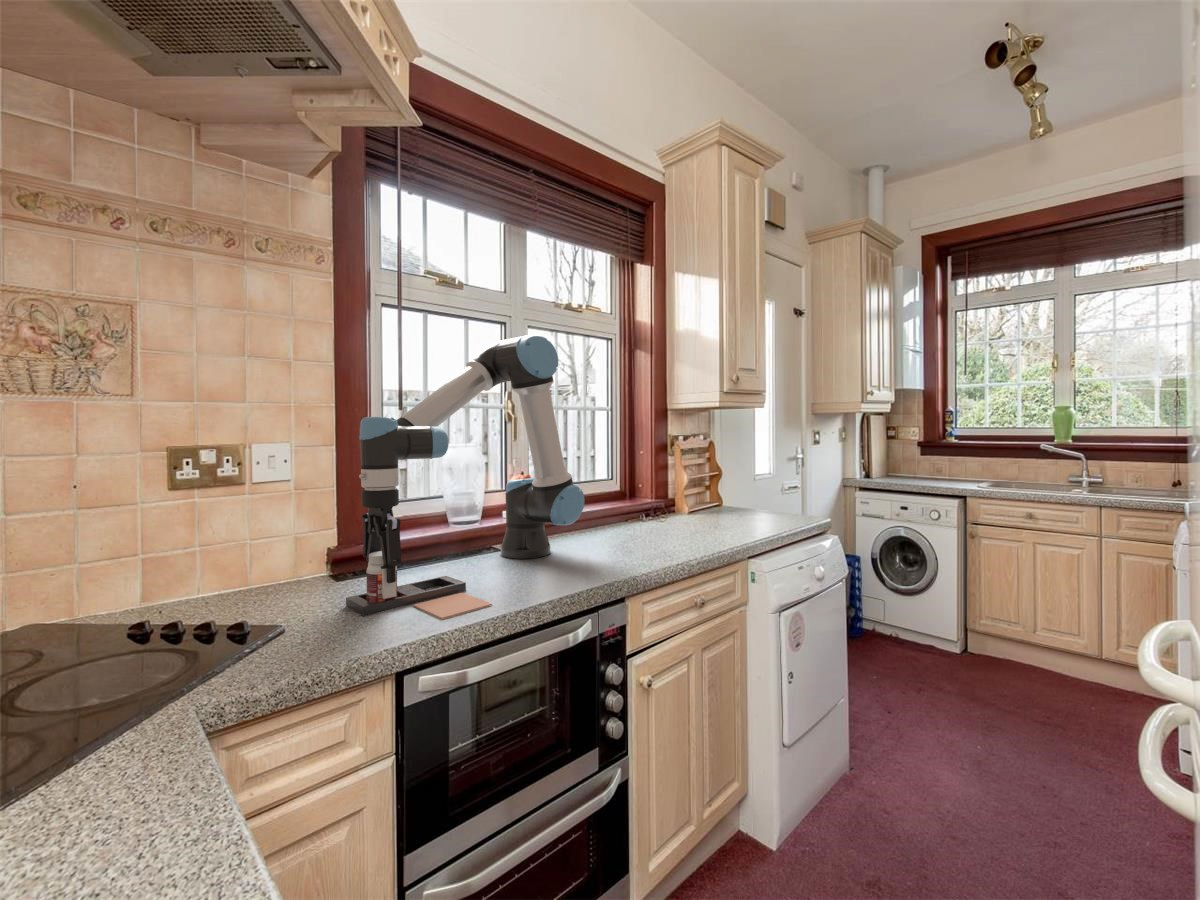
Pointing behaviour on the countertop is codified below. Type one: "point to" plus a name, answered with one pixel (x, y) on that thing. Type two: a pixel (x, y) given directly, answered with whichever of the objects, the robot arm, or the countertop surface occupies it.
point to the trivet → (451, 605)
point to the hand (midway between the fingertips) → (382, 593)
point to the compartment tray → (407, 595)
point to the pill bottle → (376, 578)
